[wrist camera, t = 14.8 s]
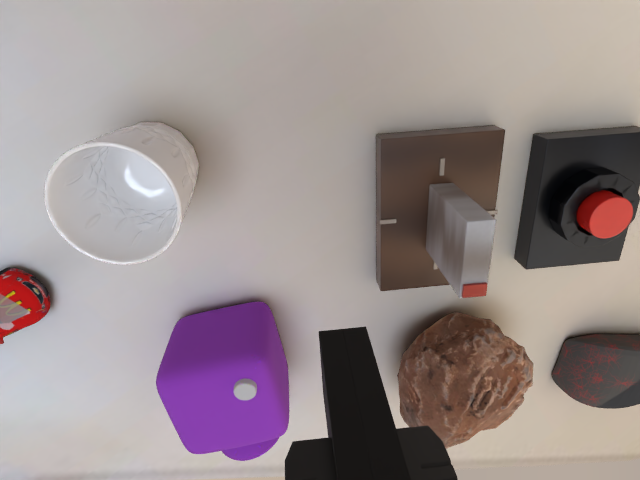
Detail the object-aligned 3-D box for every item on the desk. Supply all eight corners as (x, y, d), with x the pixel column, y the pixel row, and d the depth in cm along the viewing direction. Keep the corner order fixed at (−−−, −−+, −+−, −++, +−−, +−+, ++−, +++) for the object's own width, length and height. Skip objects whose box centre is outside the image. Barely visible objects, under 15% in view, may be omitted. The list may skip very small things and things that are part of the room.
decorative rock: (409, 405, 49) (438, 489, 40) (362, 340, 44) (383, 417, 35) (516, 353, 47) (572, 428, 38) (479, 279, 42) (532, 345, 33)
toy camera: (223, 414, 47) (210, 503, 38) (157, 321, 41) (123, 400, 32) (314, 380, 46) (323, 463, 37) (259, 280, 40) (254, 350, 31)
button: (580, 191, 35) (594, 199, 34) (622, 188, 35) (638, 195, 34) (572, 231, 37) (585, 240, 35) (612, 228, 37) (627, 236, 35)
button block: (533, 133, 37) (560, 144, 33) (635, 125, 37) (673, 135, 33) (514, 258, 42) (536, 279, 38) (603, 250, 42) (633, 270, 39)
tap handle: (429, 184, 36) (468, 223, 28) (453, 182, 36) (498, 220, 28) (425, 249, 38) (460, 300, 31) (447, 247, 38) (487, 297, 31)
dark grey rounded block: (568, 327, 46) (593, 352, 42) (684, 328, 47) (717, 353, 44) (546, 385, 49) (567, 412, 46) (655, 384, 51) (683, 411, 47)
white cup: (221, 142, 35) (200, 179, 26) (185, 223, 37) (156, 282, 28) (123, 94, 33) (63, 117, 24) (93, 184, 35) (29, 235, 26)
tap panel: (374, 134, 35) (380, 139, 34) (495, 124, 36) (507, 129, 34) (375, 280, 41) (380, 292, 40) (478, 270, 42) (488, 282, 40)
